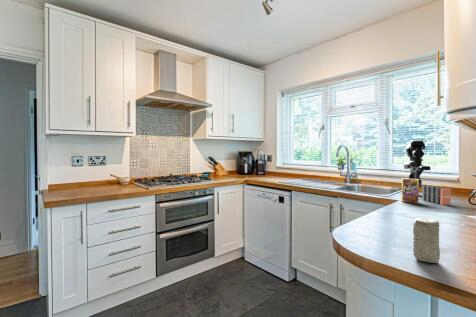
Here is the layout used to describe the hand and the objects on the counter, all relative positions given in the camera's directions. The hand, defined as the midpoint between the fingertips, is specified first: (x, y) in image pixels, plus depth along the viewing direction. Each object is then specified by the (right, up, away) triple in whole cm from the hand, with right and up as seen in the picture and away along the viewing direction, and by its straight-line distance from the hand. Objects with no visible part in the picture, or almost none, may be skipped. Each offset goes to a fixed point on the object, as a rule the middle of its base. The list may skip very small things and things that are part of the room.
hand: (416, 179), depth 177 cm
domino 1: (0, -13, -9) cm, 16 cm away
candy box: (-16, -14, -16) cm, 27 cm away
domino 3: (0, -13, -17) cm, 22 cm away
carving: (-73, -15, -105) cm, 129 cm away
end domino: (0, -14, -25) cm, 28 cm away
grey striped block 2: (0, -13, -13) cm, 19 cm away
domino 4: (0, -13, -21) cm, 25 cm away
